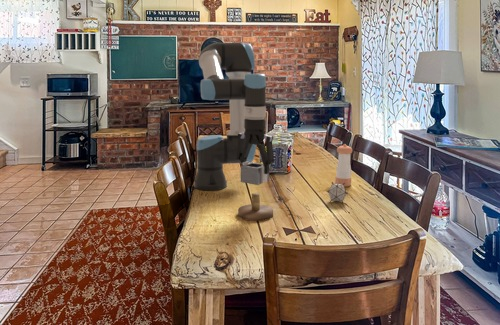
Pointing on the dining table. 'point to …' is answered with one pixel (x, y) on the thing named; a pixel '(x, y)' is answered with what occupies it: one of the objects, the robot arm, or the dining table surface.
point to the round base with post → (255, 210)
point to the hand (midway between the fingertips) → (254, 180)
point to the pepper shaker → (343, 166)
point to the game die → (337, 192)
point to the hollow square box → (252, 173)
